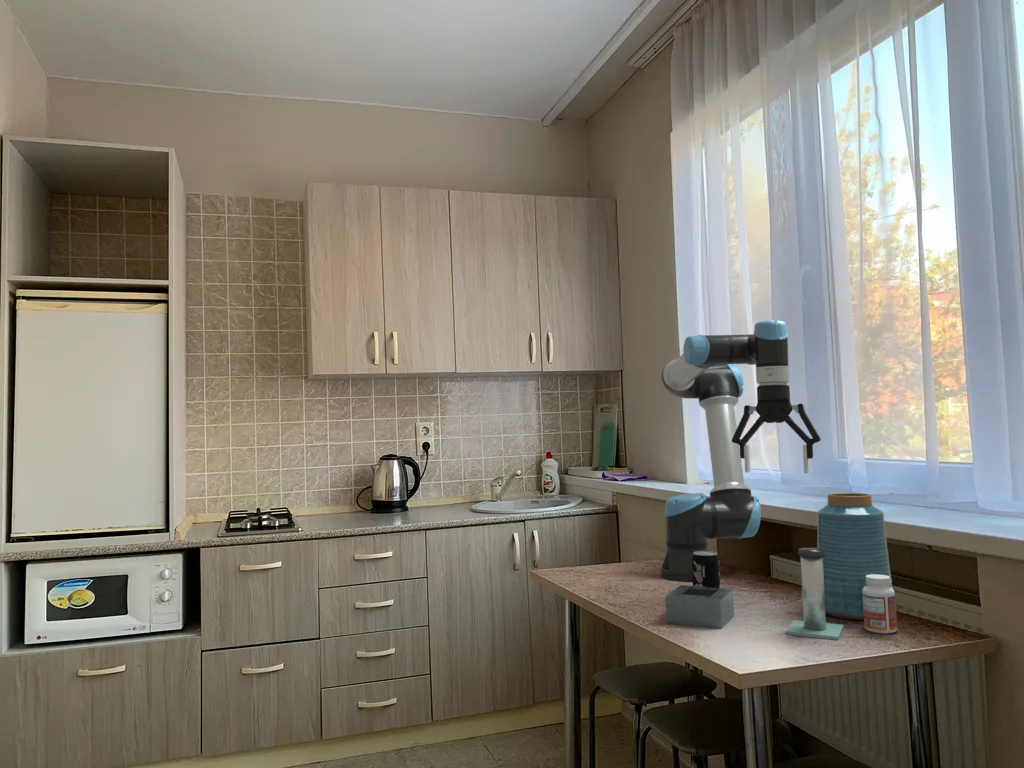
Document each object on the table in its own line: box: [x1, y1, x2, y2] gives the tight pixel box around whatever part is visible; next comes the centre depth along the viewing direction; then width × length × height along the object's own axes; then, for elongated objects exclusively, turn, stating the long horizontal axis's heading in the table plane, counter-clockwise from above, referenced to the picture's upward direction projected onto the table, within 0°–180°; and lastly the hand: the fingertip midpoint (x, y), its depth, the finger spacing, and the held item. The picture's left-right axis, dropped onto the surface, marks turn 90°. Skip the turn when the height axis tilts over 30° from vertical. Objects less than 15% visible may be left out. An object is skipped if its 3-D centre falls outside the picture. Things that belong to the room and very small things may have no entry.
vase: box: [816, 492, 894, 621], centre depth 174 cm, size 16×16×27 cm
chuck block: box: [665, 584, 735, 630], centre depth 170 cm, size 12×12×6 cm
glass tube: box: [798, 547, 827, 631], centre depth 159 cm, size 5×5×16 cm
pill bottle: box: [862, 574, 898, 635], centre depth 158 cm, size 6×6×11 cm
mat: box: [785, 619, 844, 641], centre depth 158 cm, size 10×10×1 cm
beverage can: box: [692, 550, 721, 588], centre depth 187 cm, size 7×7×12 cm
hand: (776, 472), depth 183 cm, fingers open, 13 cm apart
